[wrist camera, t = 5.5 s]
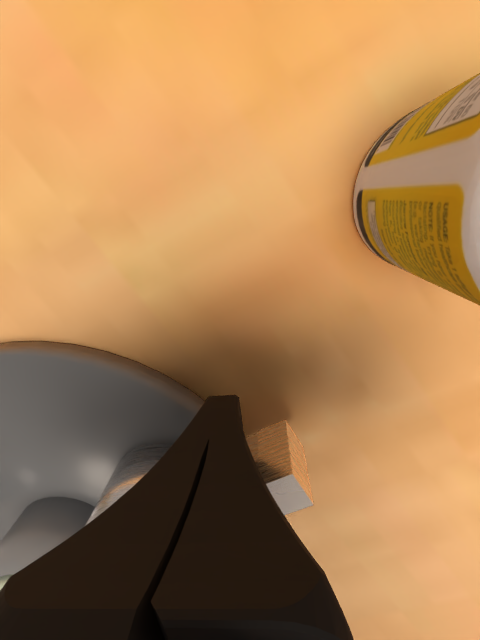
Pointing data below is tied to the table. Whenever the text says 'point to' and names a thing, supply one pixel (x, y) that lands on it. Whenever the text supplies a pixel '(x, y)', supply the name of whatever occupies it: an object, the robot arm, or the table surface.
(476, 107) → the supplement bottle
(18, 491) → the tribrach plate
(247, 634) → the robot arm
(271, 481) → the silver metal rounded piece
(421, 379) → the table surface
